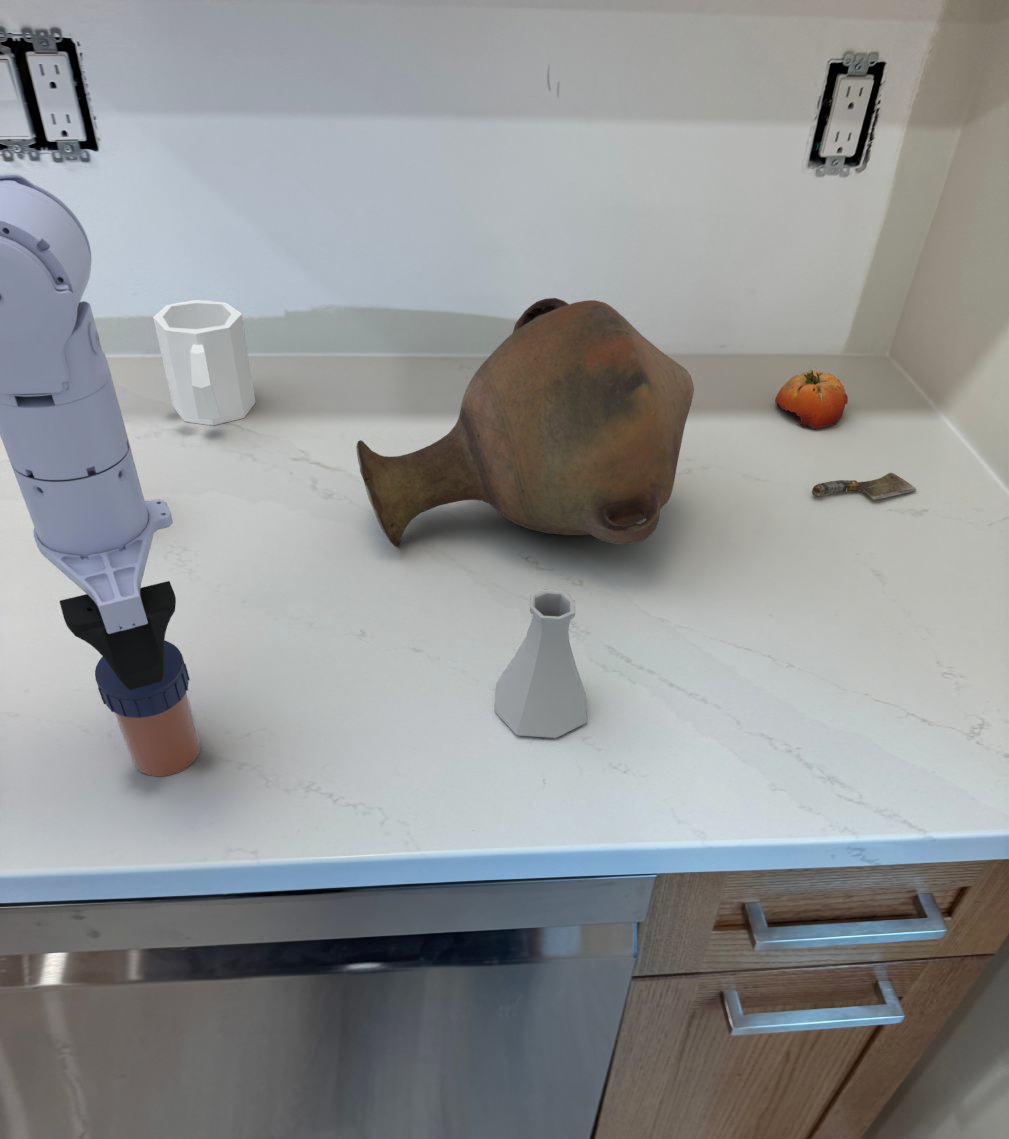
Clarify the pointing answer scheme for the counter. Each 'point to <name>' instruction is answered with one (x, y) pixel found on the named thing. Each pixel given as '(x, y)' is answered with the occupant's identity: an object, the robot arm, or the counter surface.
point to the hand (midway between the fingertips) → (133, 646)
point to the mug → (205, 361)
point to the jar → (162, 740)
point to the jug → (552, 432)
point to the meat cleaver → (866, 487)
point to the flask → (543, 674)
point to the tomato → (814, 398)
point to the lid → (145, 687)
